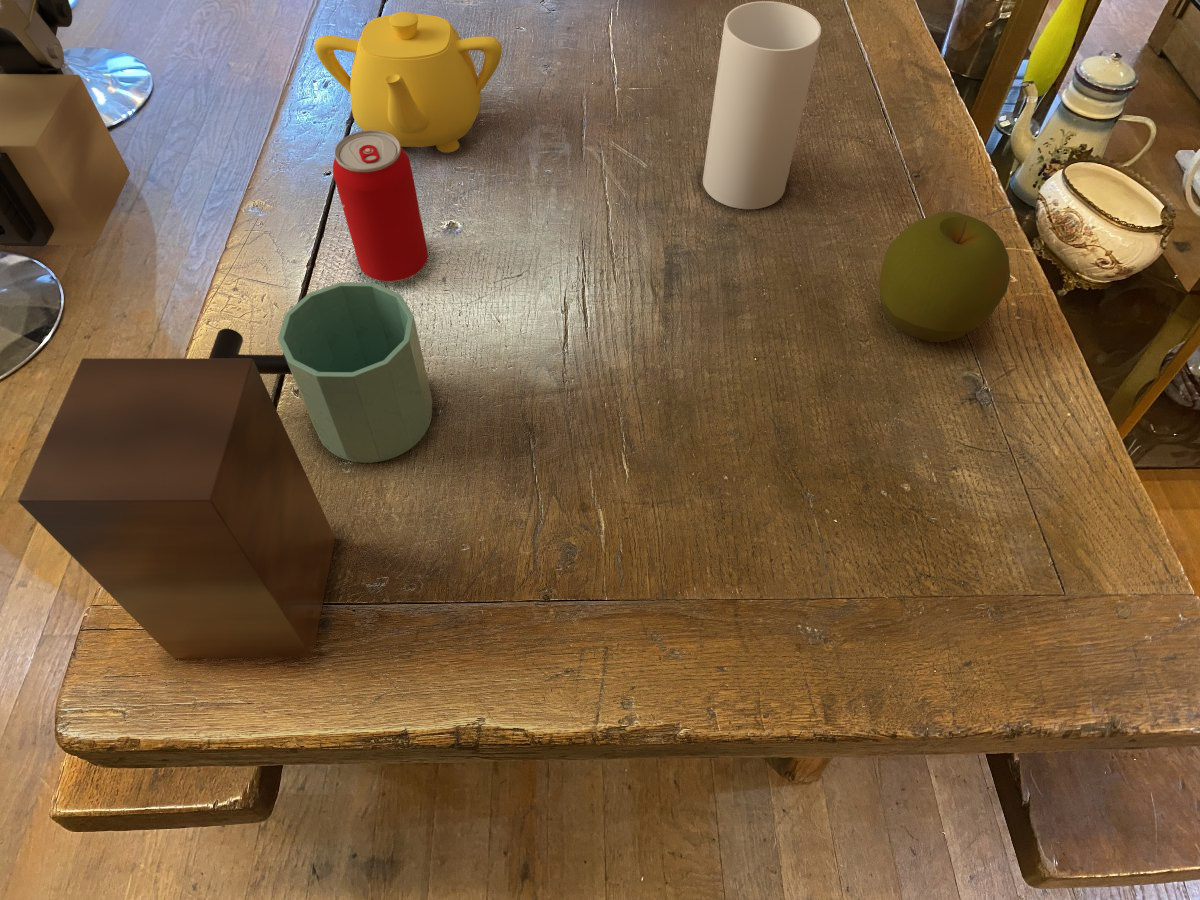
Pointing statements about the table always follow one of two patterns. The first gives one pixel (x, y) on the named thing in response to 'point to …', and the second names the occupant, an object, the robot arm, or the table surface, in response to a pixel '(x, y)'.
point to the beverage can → (380, 205)
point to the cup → (759, 102)
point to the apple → (943, 277)
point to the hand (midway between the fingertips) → (50, 195)
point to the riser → (187, 505)
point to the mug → (351, 369)
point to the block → (62, 152)
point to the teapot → (413, 78)
